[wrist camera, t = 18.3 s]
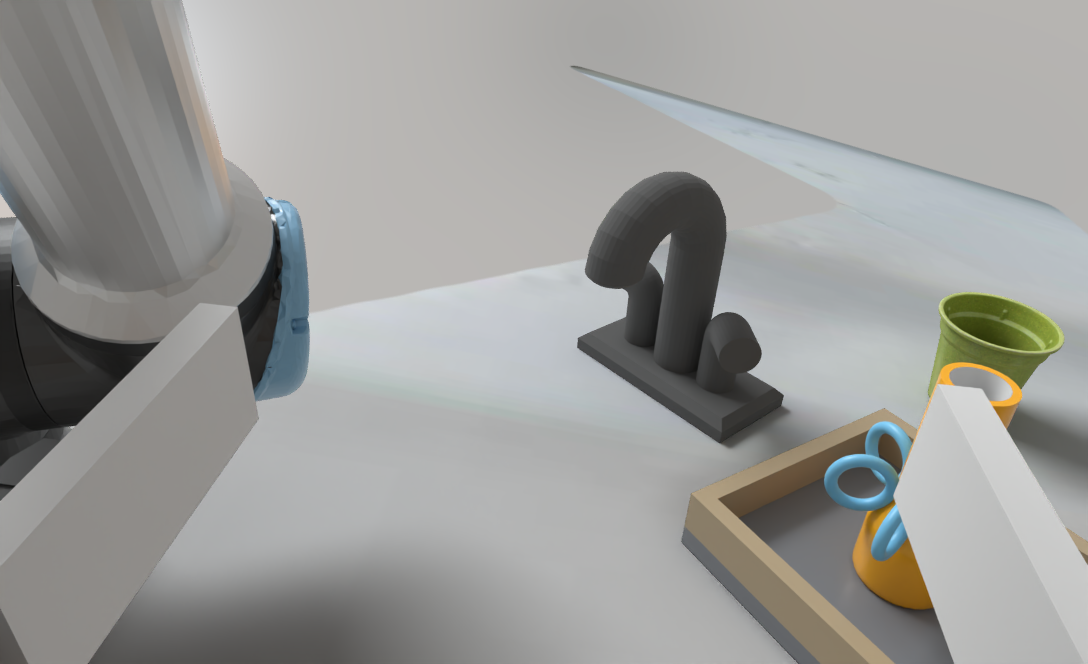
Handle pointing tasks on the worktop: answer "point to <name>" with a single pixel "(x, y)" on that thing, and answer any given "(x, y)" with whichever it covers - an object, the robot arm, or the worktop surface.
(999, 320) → the plant pot
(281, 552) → the worktop surface
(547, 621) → the worktop surface
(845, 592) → the tan and grey tray
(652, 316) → the faucet
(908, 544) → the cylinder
